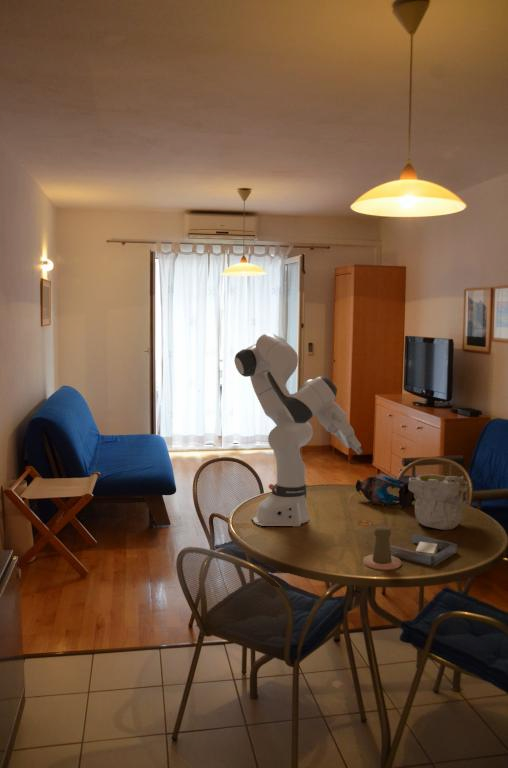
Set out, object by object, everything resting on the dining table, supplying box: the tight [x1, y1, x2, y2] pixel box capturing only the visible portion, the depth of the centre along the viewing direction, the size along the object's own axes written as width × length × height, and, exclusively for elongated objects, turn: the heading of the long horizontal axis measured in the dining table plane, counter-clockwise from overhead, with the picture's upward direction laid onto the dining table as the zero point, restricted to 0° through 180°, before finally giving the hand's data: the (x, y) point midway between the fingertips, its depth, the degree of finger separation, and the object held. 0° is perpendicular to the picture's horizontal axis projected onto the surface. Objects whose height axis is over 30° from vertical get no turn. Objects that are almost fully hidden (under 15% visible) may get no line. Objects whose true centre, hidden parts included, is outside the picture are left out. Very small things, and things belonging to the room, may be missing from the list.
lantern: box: [355, 472, 416, 510], centre depth 279 cm, size 16×16×25 cm
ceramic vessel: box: [408, 473, 469, 531], centre depth 252 cm, size 23×24×25 cm
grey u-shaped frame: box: [390, 533, 458, 568], centre depth 220 cm, size 16×17×3 cm
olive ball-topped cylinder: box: [372, 526, 392, 564], centre depth 211 cm, size 6×6×11 cm
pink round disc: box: [362, 553, 402, 571], centre depth 211 cm, size 12×12×1 cm
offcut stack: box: [415, 542, 438, 556], centre depth 219 cm, size 6×11×3 cm, turn 158°
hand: (360, 450), depth 219 cm, fingers open, 8 cm apart
